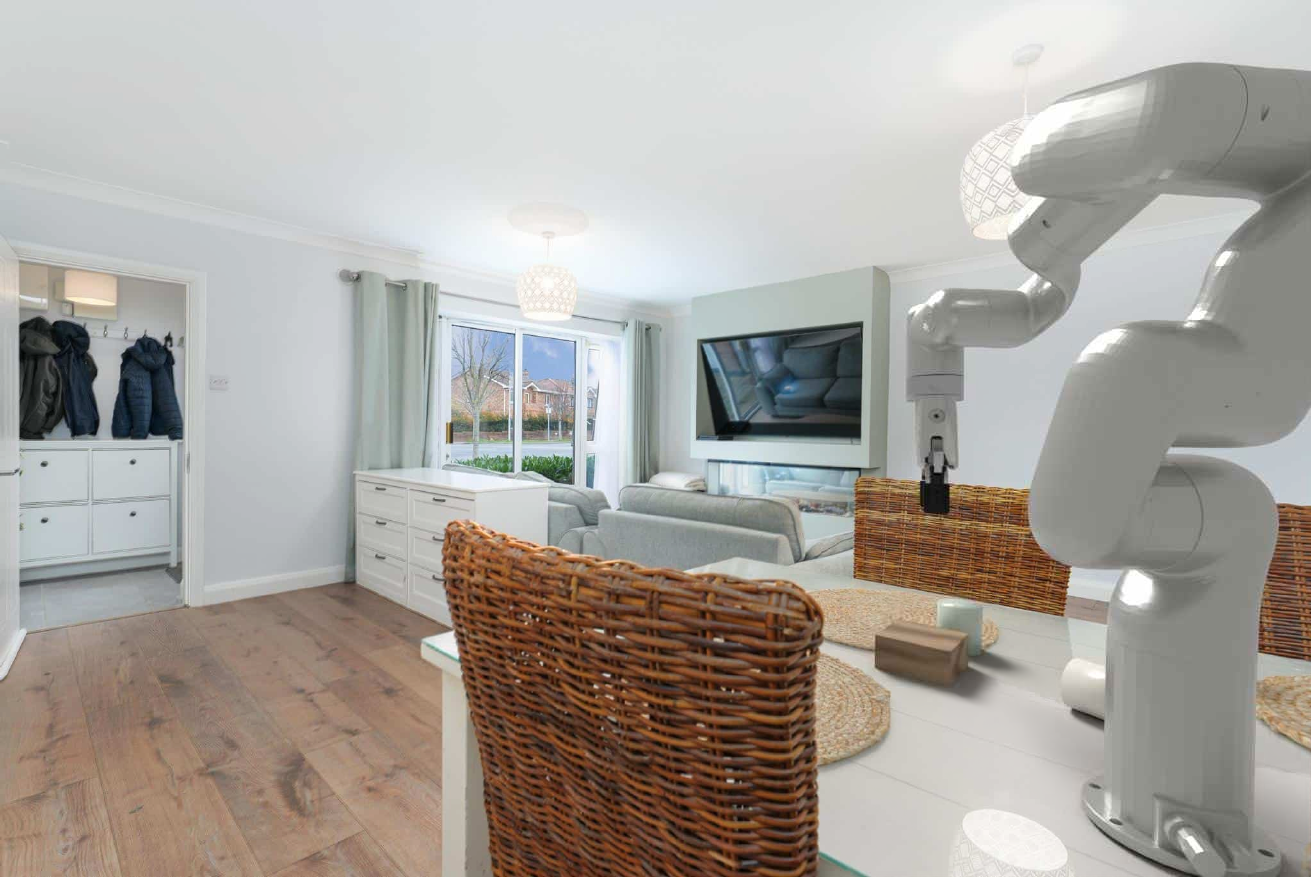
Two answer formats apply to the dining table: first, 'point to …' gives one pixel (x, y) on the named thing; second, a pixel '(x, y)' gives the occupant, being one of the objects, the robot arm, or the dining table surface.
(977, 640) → the pale green rounded cylinder
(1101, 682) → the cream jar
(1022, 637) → the dining table surface
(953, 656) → the tan box
